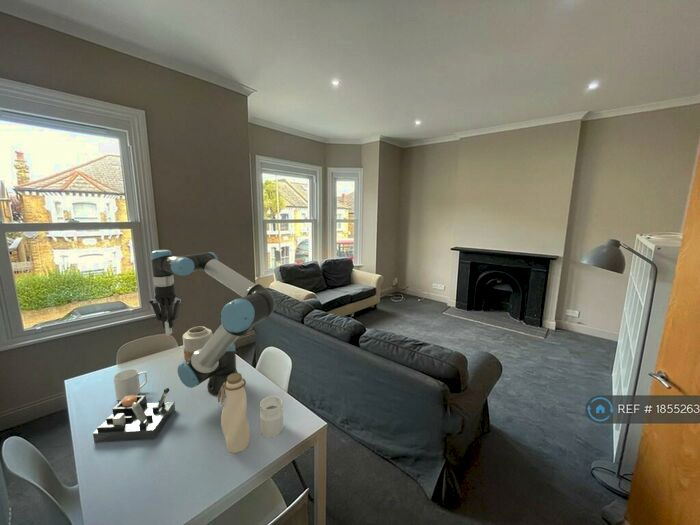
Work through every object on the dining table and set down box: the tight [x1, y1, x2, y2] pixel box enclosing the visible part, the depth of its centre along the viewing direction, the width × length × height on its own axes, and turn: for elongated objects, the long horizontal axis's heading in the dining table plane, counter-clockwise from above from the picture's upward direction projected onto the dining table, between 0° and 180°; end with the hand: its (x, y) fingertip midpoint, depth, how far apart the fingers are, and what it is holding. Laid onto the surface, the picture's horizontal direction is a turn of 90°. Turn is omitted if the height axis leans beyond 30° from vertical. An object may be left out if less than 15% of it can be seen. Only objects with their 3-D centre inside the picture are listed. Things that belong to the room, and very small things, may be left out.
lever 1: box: [132, 403, 148, 423], centre depth 109 cm, size 2×3×8 cm
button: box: [122, 395, 138, 407], centre depth 118 cm, size 5×5×4 cm
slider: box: [113, 413, 125, 425], centre depth 109 cm, size 2×3×4 cm
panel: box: [92, 394, 176, 444], centre depth 115 cm, size 21×16×8 cm
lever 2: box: [157, 387, 170, 408], centre depth 119 cm, size 2×3×8 cm
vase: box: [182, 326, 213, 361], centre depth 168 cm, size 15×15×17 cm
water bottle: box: [217, 372, 251, 454], centre depth 104 cm, size 10×9×28 cm
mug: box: [113, 368, 148, 402], centre depth 133 cm, size 12×9×11 cm
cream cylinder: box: [259, 395, 284, 438], centre depth 114 cm, size 9×9×12 cm
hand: (169, 334), depth 131 cm, fingers closed
